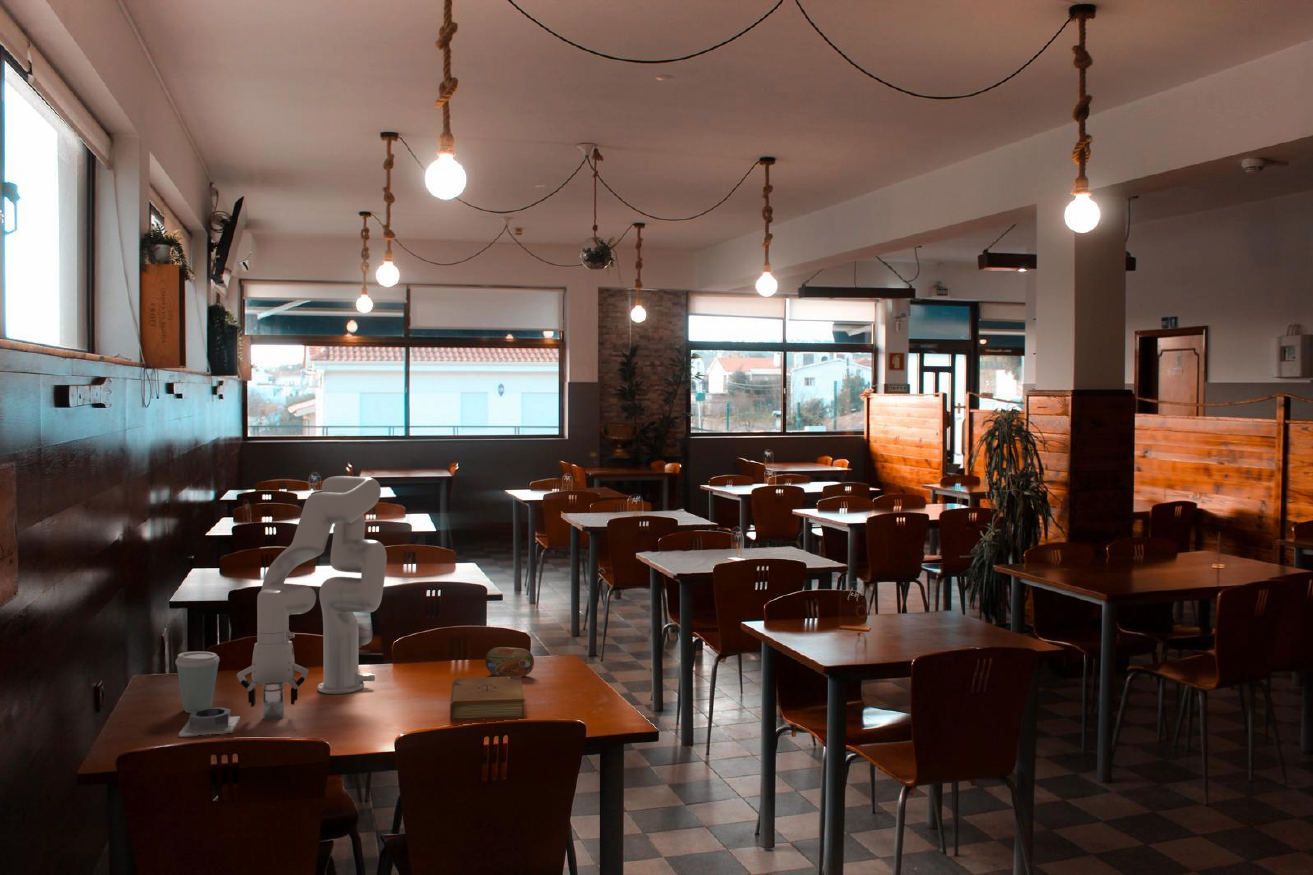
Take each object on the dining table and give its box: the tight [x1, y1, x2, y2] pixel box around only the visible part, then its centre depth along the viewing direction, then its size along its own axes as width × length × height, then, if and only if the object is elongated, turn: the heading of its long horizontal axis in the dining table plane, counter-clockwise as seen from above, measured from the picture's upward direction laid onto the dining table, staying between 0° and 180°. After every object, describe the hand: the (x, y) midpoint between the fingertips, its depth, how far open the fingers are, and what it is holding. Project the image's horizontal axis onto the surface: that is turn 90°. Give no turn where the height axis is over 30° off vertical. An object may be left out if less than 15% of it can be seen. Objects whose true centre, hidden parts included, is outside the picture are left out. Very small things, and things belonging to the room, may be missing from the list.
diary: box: [449, 676, 525, 723], centre depth 276 cm, size 23×19×6 cm
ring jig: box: [178, 706, 241, 738], centre depth 257 cm, size 12×12×4 cm
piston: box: [262, 682, 285, 721], centre depth 266 cm, size 5×5×9 cm
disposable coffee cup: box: [175, 650, 221, 714], centre depth 272 cm, size 11×11×15 cm
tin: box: [485, 646, 535, 678], centre depth 309 cm, size 15×3×8 cm, turn 73°
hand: (273, 704), depth 265 cm, fingers open, 9 cm apart
